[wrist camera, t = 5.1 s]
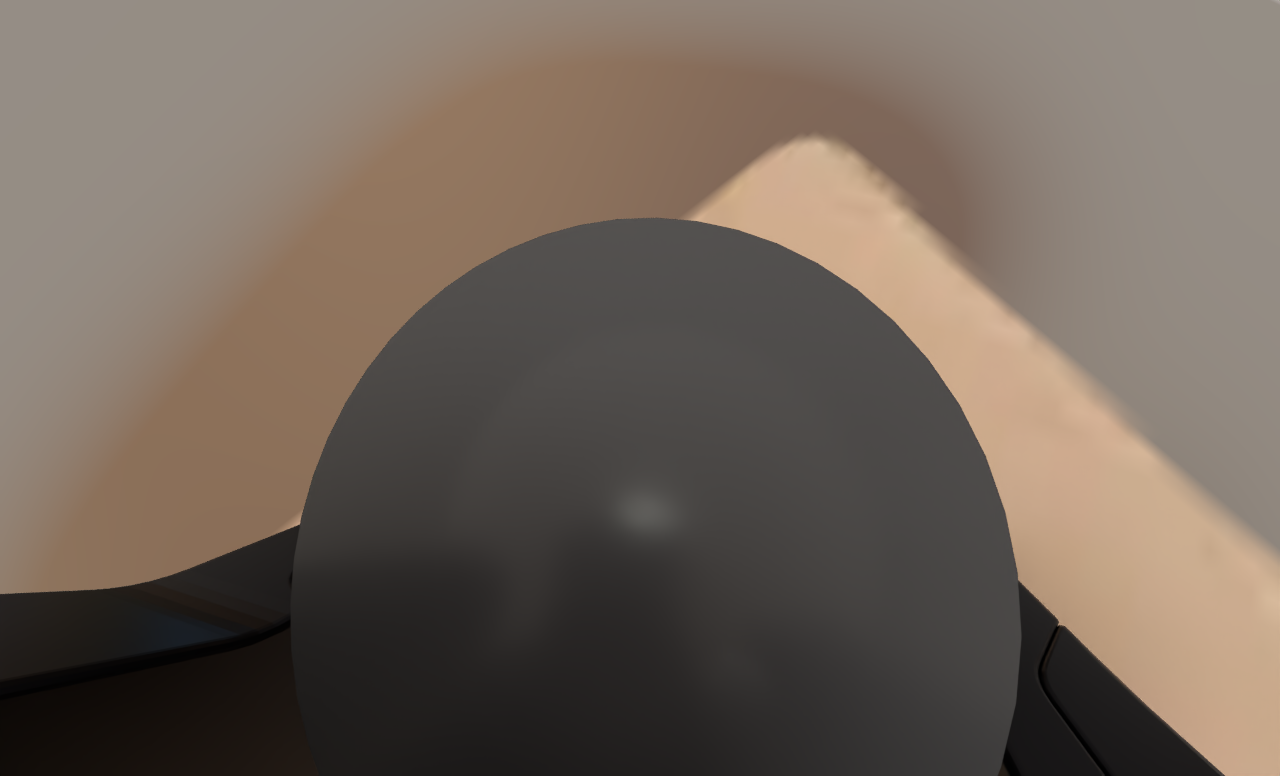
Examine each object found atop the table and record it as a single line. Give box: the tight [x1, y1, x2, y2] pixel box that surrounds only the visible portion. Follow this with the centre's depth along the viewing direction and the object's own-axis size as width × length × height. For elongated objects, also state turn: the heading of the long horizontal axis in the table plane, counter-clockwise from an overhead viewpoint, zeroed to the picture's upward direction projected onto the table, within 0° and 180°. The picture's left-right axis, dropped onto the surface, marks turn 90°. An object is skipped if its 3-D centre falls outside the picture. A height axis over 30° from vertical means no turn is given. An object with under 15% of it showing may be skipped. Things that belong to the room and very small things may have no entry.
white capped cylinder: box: [290, 218, 1021, 776], centre depth 8 cm, size 4×4×12 cm
